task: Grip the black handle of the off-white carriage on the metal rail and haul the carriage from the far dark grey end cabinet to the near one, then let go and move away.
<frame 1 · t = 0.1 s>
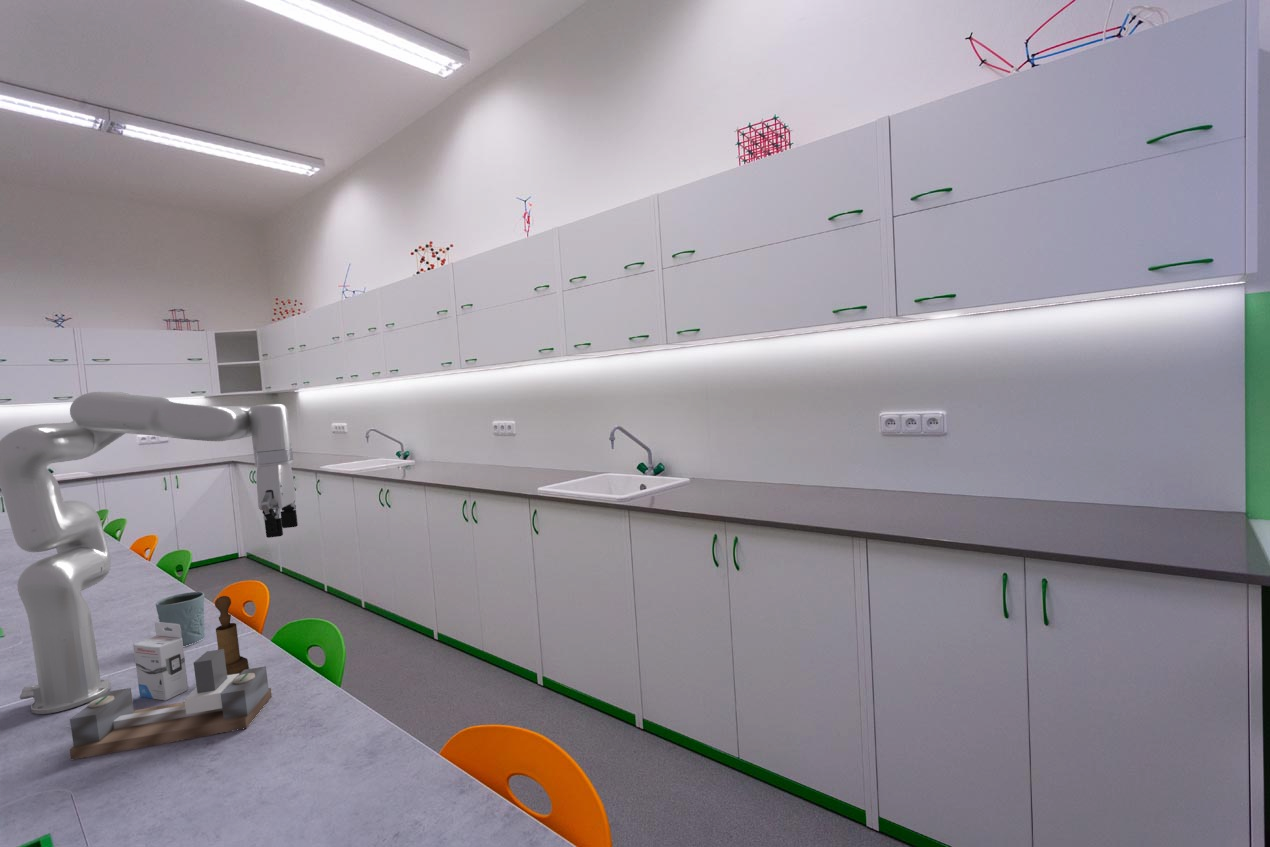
hand: (282, 531, 135), 31 cm above the table, tool pointing down, fingers open, 9 cm apart
blue-grey plant pot: (186, 642, 156), on the table
carriage: (211, 678, 114), point 8 cm above the table, slide at 0.0 cm
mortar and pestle: (231, 674, 134), on the table
ink box: (164, 694, 127), on the table
rail stand: (179, 726, 113), on the table
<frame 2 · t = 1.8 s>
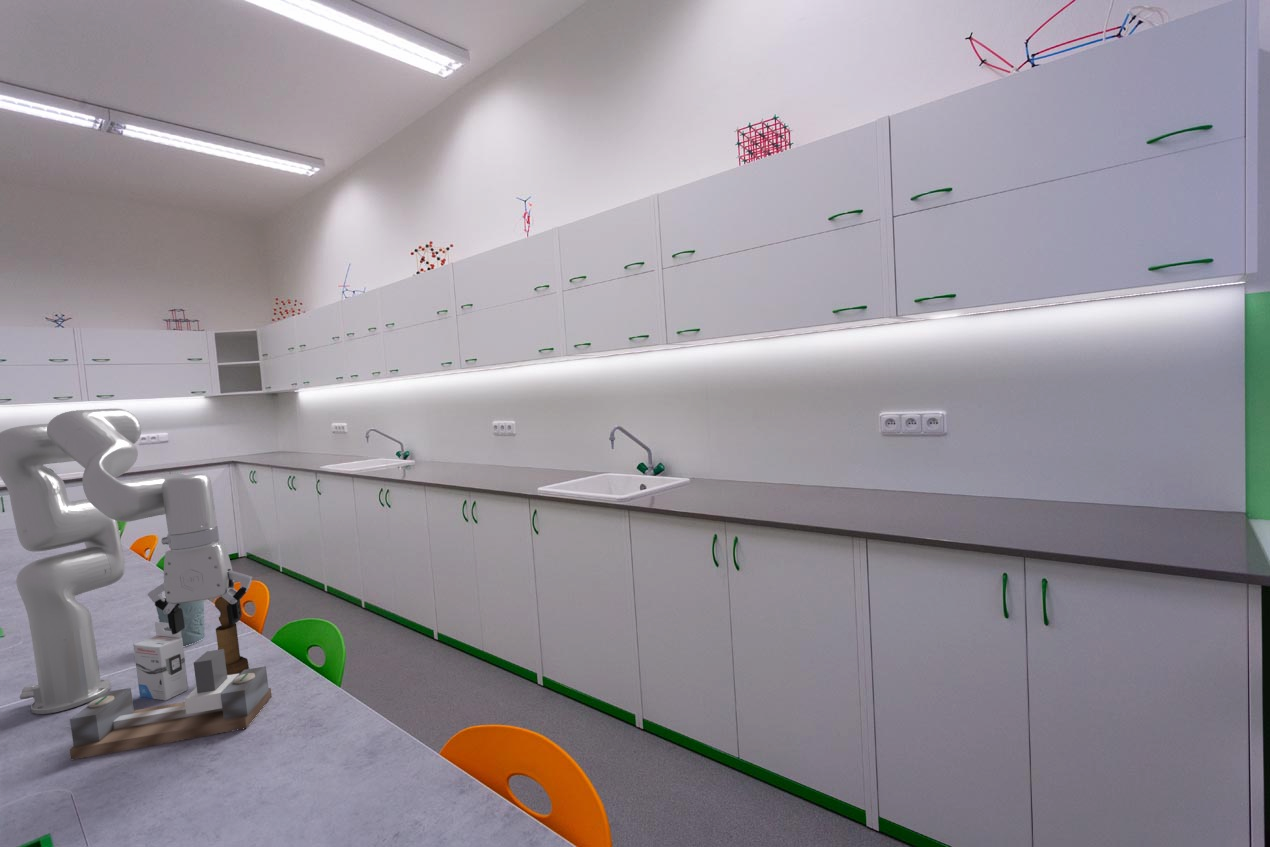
hand: (207, 626, 113), 18 cm above the table, tool pointing down, fingers open, 9 cm apart
nothing on the table moved.
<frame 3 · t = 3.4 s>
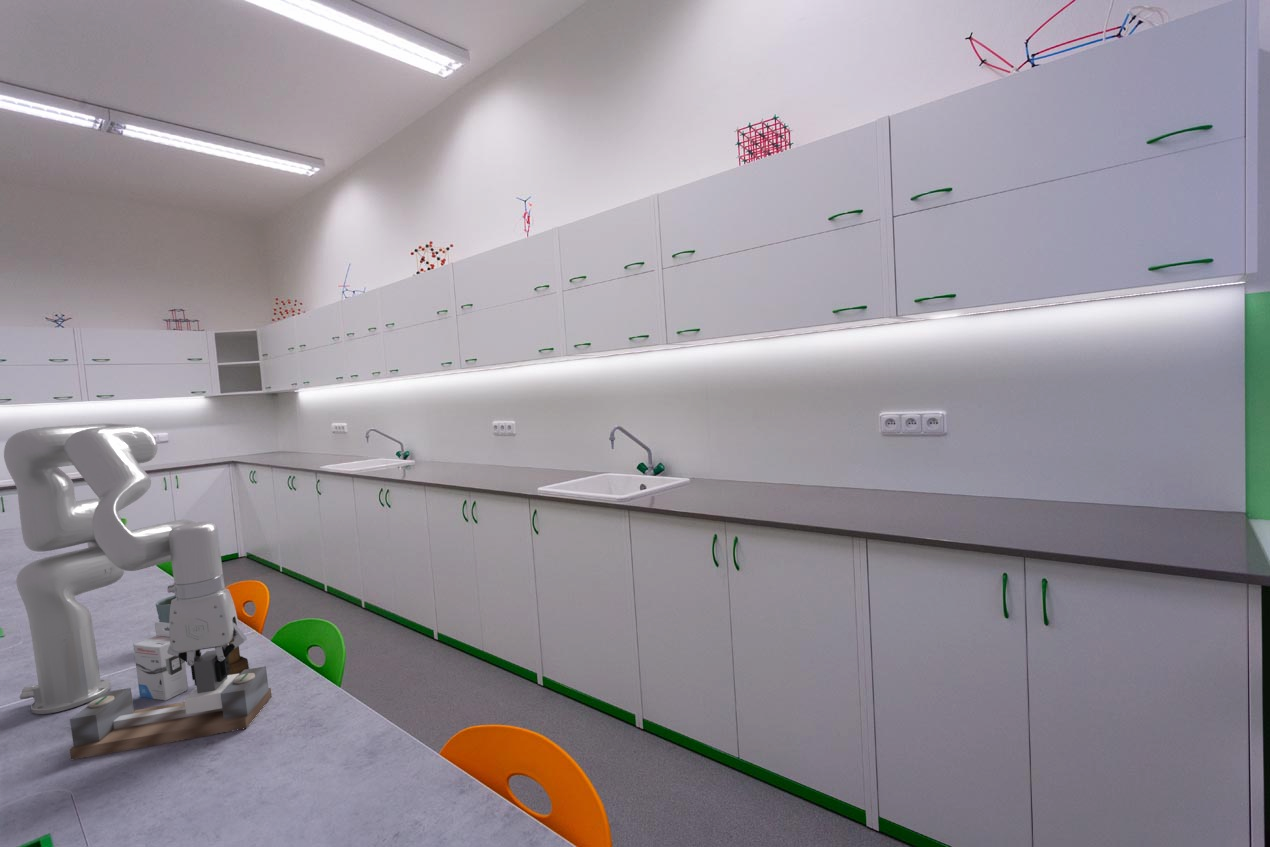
hand: (212, 679, 114), 8 cm above the table, tool pointing down, fingers closed on carriage, 3 cm apart
carriage: (211, 678, 114), point 8 cm above the table, slide at 0.0 cm, touching gripper
everything else where it was.
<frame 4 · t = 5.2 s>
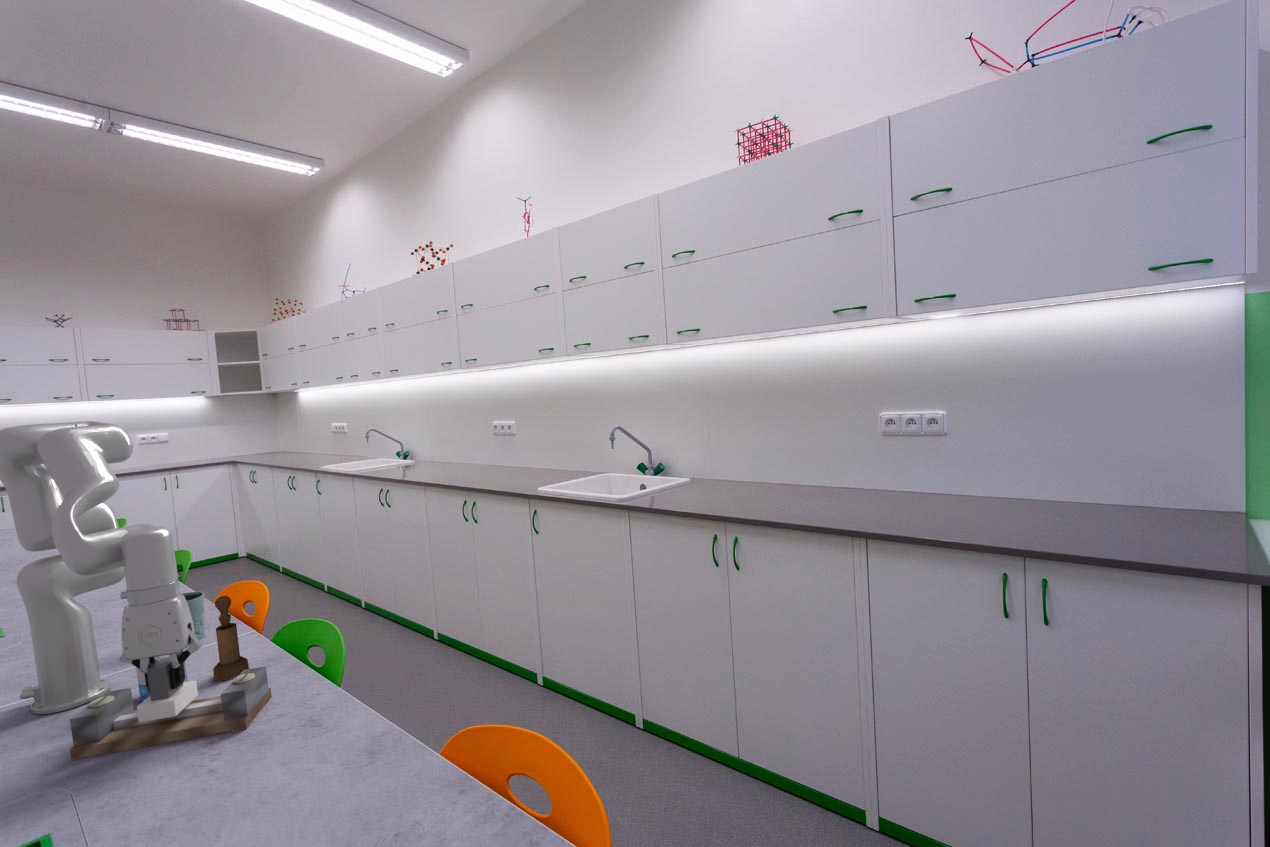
hand: (166, 686, 112), 8 cm above the table, tool pointing down, fingers closed on carriage, 3 cm apart
carriage: (166, 685, 112), point 8 cm above the table, slide at 7.7 cm, touching gripper
everything else where it was.
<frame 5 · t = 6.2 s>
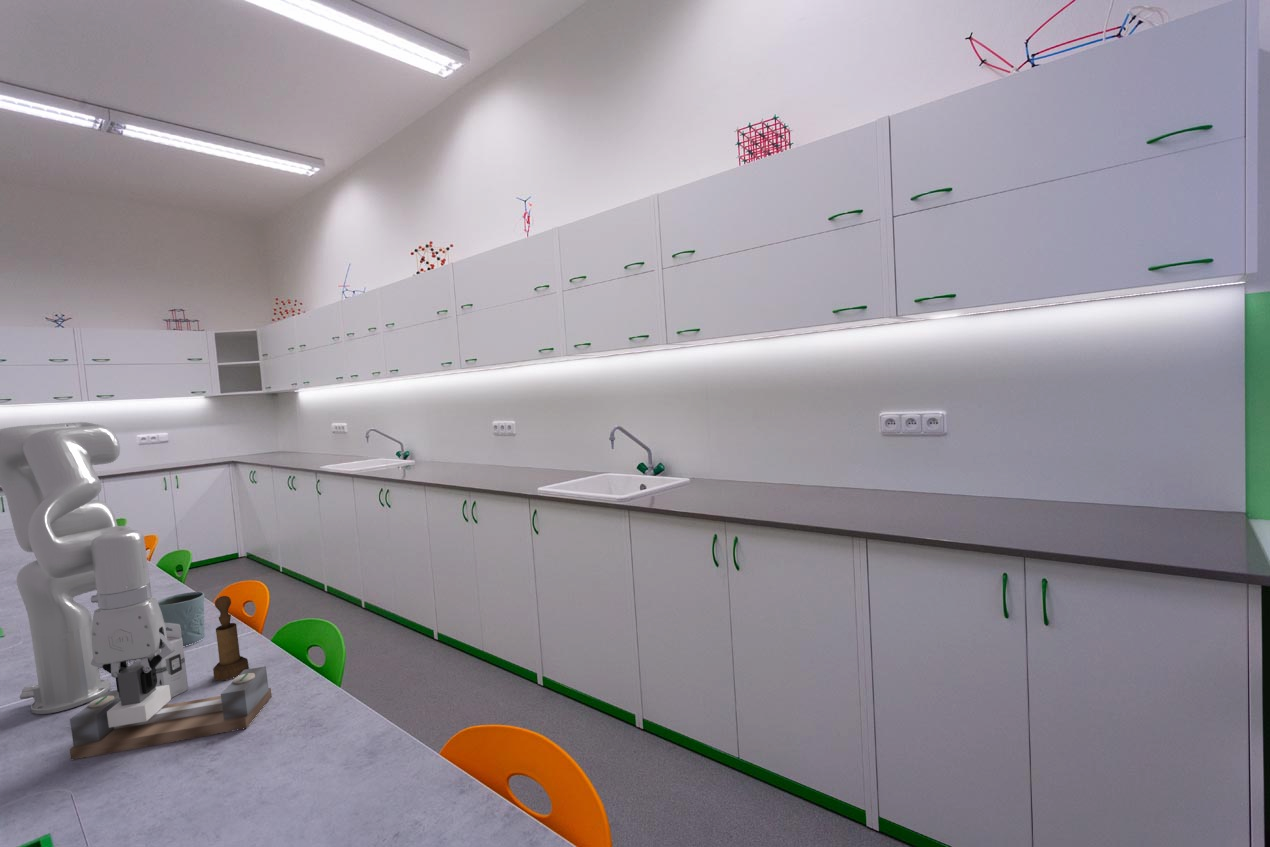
hand: (138, 691, 111), 8 cm above the table, tool pointing down, fingers closed on carriage, 3 cm apart
carriage: (138, 690, 111), point 8 cm above the table, slide at 12.4 cm, touching gripper
everything else where it was.
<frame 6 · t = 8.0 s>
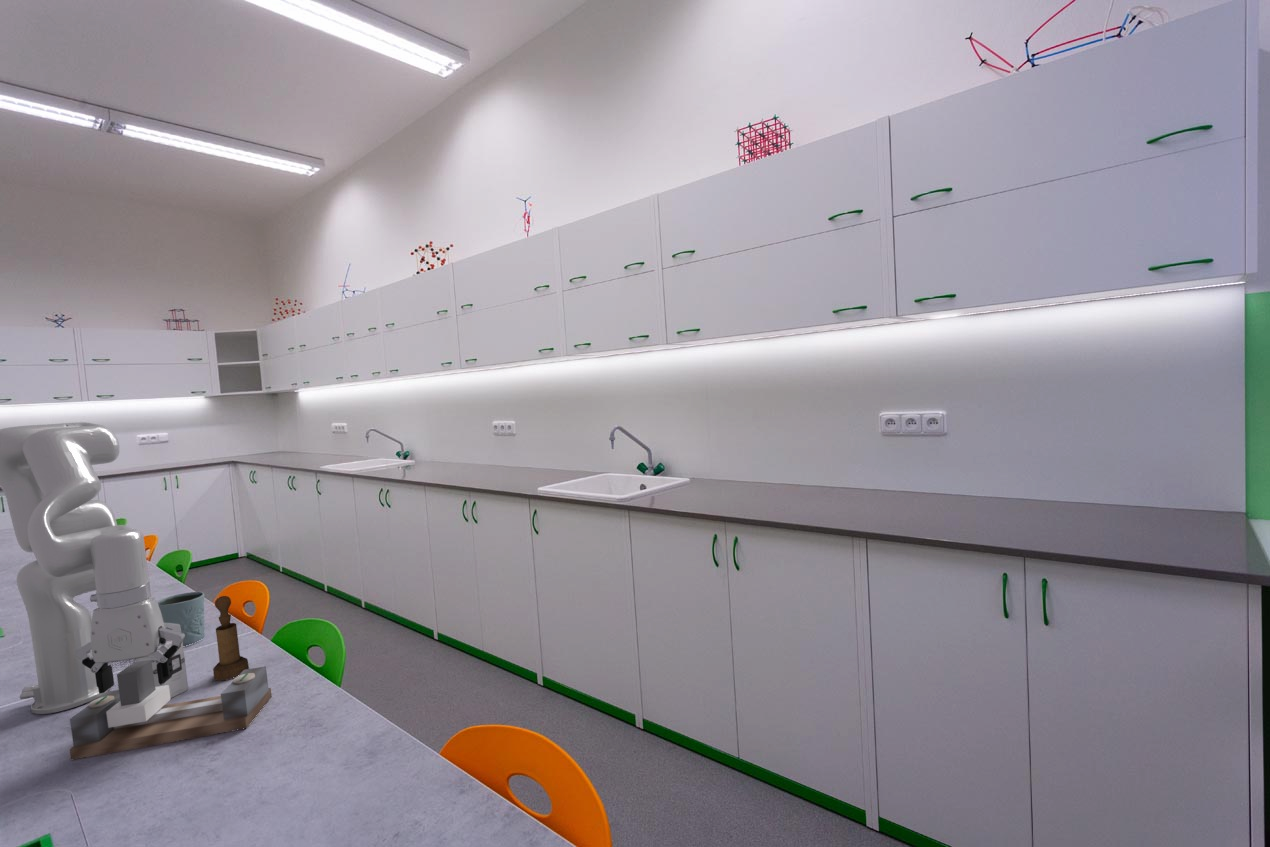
hand: (136, 685, 111), 9 cm above the table, tool pointing down, fingers open, 9 cm apart
carriage: (137, 690, 111), point 8 cm above the table, slide at 12.5 cm
everything else where it was.
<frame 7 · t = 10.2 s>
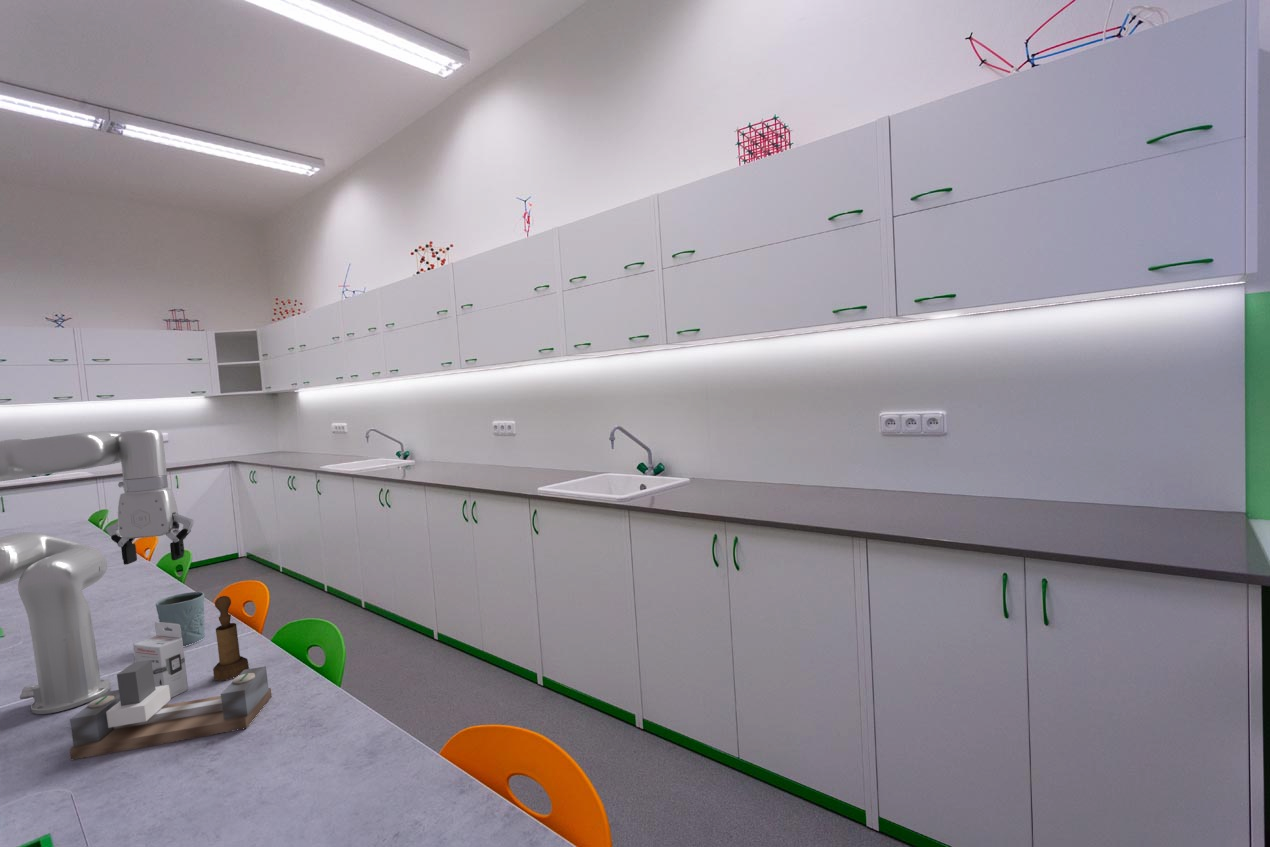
hand: (154, 560, 132), 28 cm above the table, tool pointing down, fingers open, 9 cm apart
nothing on the table moved.
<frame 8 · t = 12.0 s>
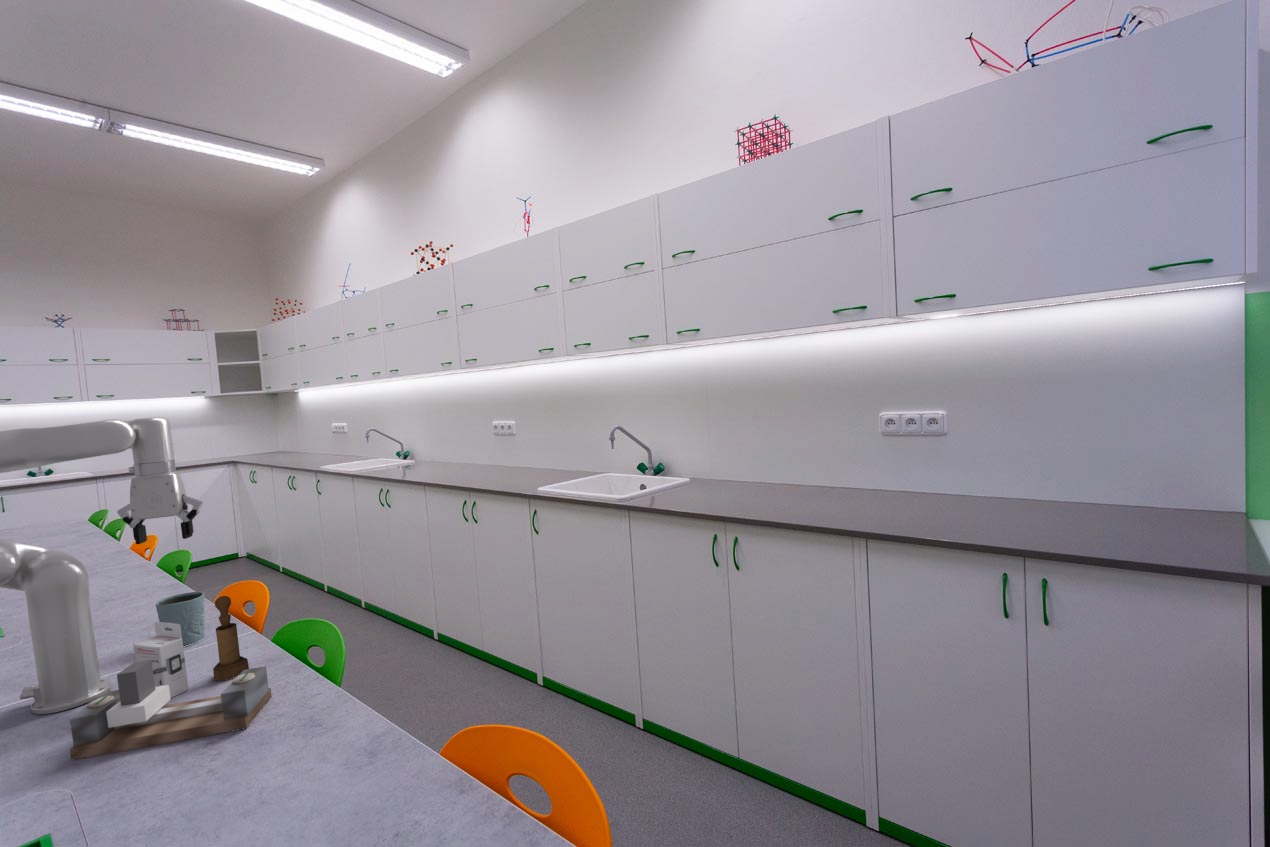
hand: (164, 540, 141), 30 cm above the table, tool pointing down, fingers open, 9 cm apart
nothing on the table moved.
at the end: carriage slide at 12.5 cm; the gripper is holding nothing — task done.
